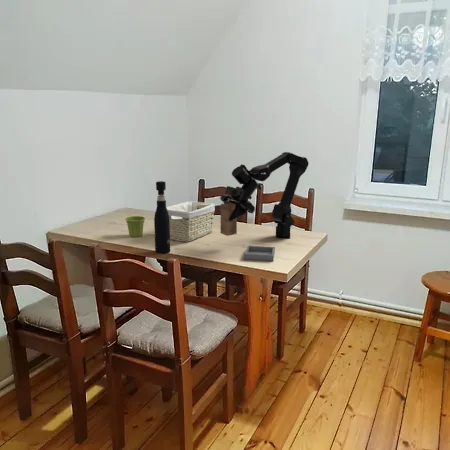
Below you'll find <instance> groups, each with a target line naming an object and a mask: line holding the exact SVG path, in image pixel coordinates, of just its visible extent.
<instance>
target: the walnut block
mask: <svg viewBox="0 0 450 450" xmlns="http://www.w3.org/2000/svg"><path fill="white" fill-rule="evenodd" d="M235 208H236V204H233V203H220V234H222V235H224V236H227V237H228V236H232V235H236V234H238V233H237V232H238V230H237V229H238V227H237V226H238V223H237V222H238V217H237V218H235V219H233V220H232V221H230V220H229V218H230V216H231V215H232V213H233V212H234V210H235Z"/></svg>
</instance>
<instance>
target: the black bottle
mask: <svg viewBox="0 0 450 450" xmlns="http://www.w3.org/2000/svg"><path fill="white" fill-rule="evenodd" d="M166 187H167V185H166V181H164V180H163V181H162V180H161V181H160V180H159V181H156V182H155V188H156V191H157V200H156V209H155V212H154V217H153V221H154V223H153V225H154V250H155V253H156V254H159V255H165V254H169V253H171V239H170V218H169V214H168V211H167V208H166V207H167V201H166V196H165V191H166Z"/></svg>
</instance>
